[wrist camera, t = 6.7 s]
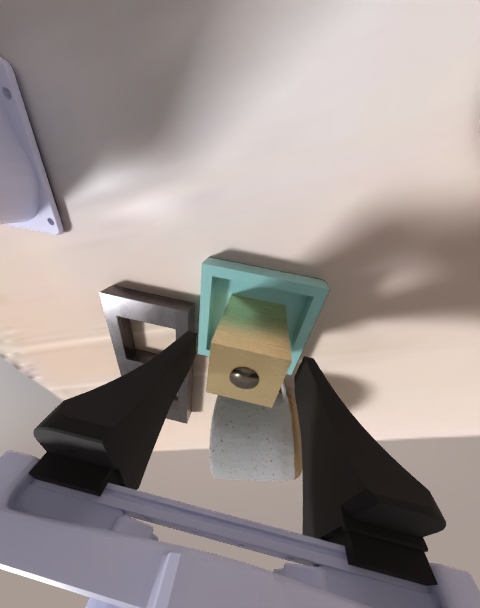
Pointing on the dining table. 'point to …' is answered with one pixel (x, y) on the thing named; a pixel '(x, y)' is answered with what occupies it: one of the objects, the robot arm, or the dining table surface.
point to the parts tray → (263, 286)
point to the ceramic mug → (256, 440)
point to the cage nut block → (250, 351)
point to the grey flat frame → (155, 311)
